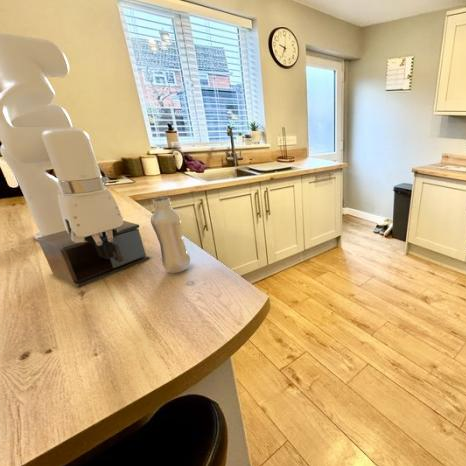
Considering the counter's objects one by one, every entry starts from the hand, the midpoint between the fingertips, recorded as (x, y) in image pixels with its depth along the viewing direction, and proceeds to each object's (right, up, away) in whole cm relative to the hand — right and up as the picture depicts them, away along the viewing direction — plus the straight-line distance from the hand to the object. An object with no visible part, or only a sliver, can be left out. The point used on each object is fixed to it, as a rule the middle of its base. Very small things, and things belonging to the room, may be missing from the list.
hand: (107, 256), depth 73 cm
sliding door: (+1, -2, +7) cm, 8 cm away
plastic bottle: (+15, -4, +6) cm, 16 cm away
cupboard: (-8, -3, +7) cm, 11 cm away
